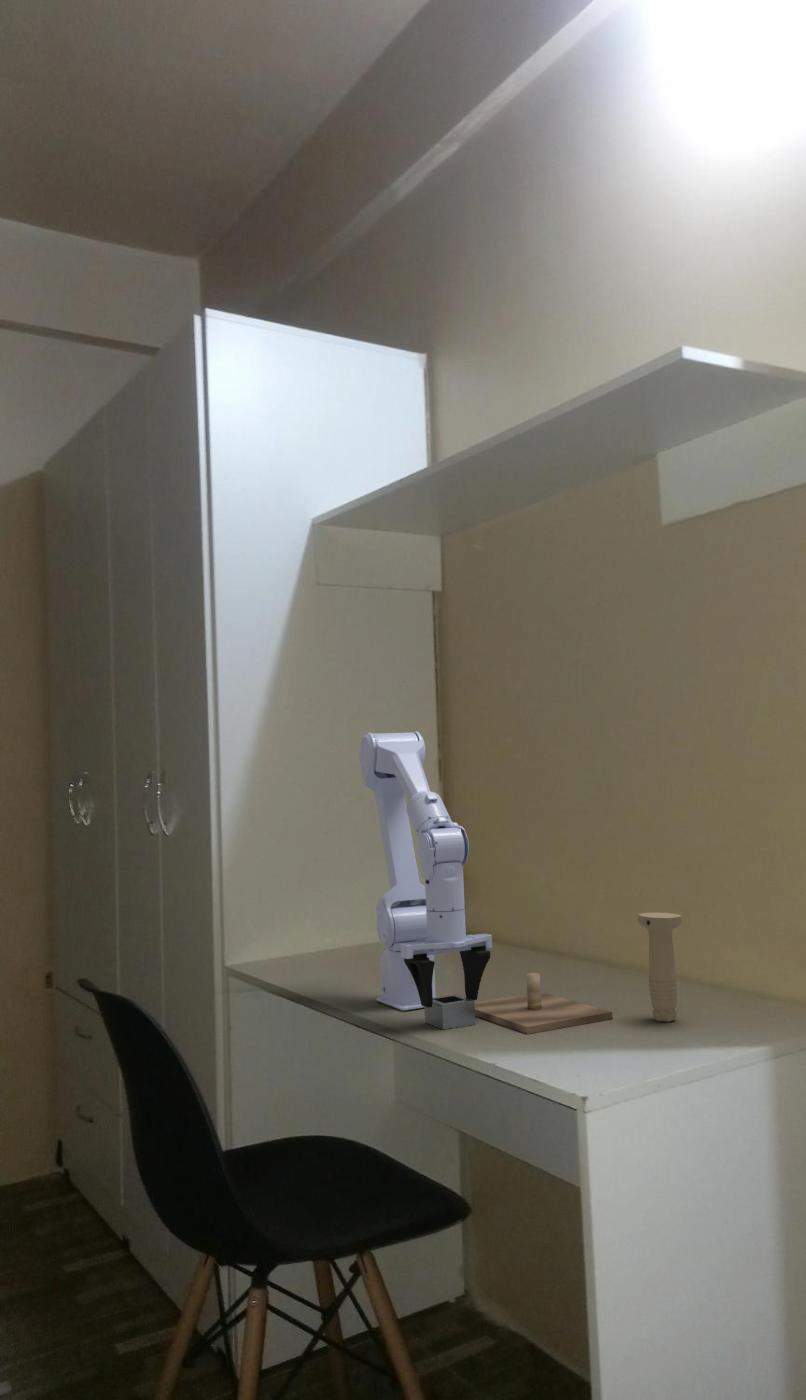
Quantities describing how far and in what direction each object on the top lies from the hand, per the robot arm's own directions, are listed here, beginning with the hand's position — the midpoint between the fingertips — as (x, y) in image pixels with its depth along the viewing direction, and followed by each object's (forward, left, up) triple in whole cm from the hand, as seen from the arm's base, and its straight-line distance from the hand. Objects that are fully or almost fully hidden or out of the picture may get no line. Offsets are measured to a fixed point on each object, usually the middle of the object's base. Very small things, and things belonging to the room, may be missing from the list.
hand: (449, 1002), depth 164 cm
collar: (0, 0, -3) cm, 3 cm away
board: (+3, +13, -3) cm, 14 cm away
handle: (+17, +26, -3) cm, 31 cm away
